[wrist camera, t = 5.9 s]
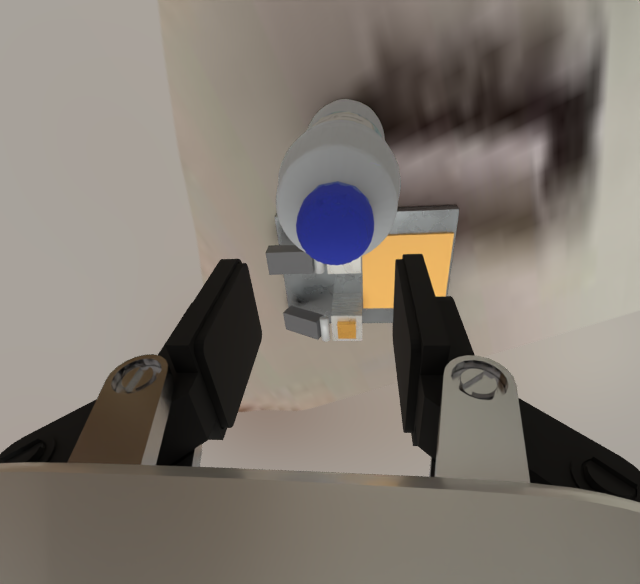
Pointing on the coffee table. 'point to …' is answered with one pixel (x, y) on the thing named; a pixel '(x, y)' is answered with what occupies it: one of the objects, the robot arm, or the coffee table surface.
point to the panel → (359, 276)
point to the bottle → (339, 185)
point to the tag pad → (383, 257)
